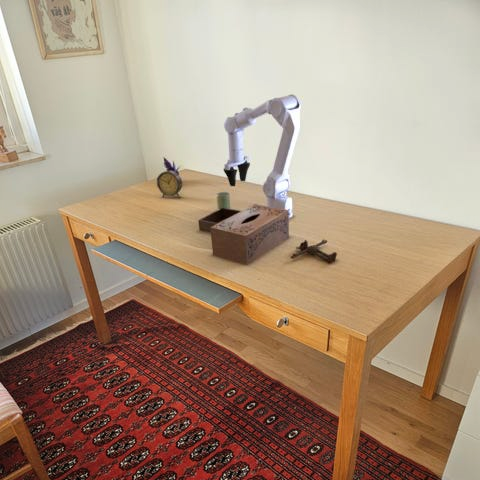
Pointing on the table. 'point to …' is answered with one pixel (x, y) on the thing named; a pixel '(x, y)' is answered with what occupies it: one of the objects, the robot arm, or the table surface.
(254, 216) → the tissue box cover
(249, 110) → the robot arm
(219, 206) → the pen cup
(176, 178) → the alarm clock
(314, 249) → the brown figurine
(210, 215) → the basket
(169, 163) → the creature
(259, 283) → the table surface
